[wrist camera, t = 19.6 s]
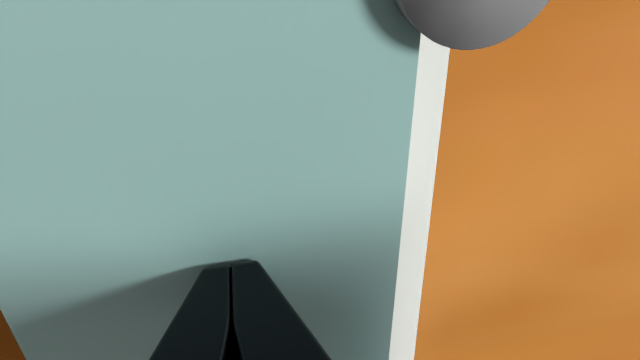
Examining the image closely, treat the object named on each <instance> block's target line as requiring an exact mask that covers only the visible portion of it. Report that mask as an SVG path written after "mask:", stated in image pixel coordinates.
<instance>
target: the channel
mask: <svg viewBox="0 0 640 360" xmlns="http://www.w3.org/2000/svg"><path fill="white" fill-rule="evenodd" d="M449 51H450V48H448V47H445V46H442V45H440V44H437V43H435V42H433V41H432V40H430V39H429V38H427V37H426V36H424V35H423V34H422V33H421V37H420V47H419V57H418V67H417V77H416V87H415V98H414V108H413V118H412V128H411V138H410V148H409V158H408V169H407V179H406V189H405V199H404V209H403V219H402V229H401V239H400V250H399V260H398V270H397V280H396V290H395V300H394V310H393V321H392V331H391V341H390V351H389V360H414V352H415V344H416V335H417V326H418V318H419V309H420V301H421V292H422V283H423V275H424V266H425V258H426V249H427V240H428V232H429V223H430V215H431V206H432V197H433V189H434V180H435V172H436V163H437V154H438V146H439V137H440V129H441V120H442V111H443V103H444V94H445V86H446V77H447V69H448V60H449Z"/></svg>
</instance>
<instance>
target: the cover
mask: <svg viewBox="0 0 640 360" xmlns="http://www.w3.org/2000/svg"><path fill="white" fill-rule="evenodd" d="M548 1H549V0H0V310H1V312H2V314H3V316H4V318H5V320H6V322H7V323H8V325H9V327H10V329H11V331H12V333H13V335H14V337H15V339H16V341H17V343H18V345H19V347H20V349H21V351H22V353H23V355H24V357H25V358H26V360H149V359H150V357H151V355H152V353H153V352H154V350H155V348H156V347H157V345H158V343H159V342H160V340H161V338H162V337H163V335H164V333H165V331H166V330H167V328H168V326H169V325H170V323H171V321H172V320H173V318H174V316H175V314H176V313H177V311H178V309H179V308H180V306H181V304H182V303H183V301H184V299H185V298H186V296H187V294H188V292H189V291H190V289H191V287H192V286H193V284H194V282H195V281H196V279H197V277H198V275H199V274H200V272H201V271H202V269H204V268H206V267H211V266H218V265H225V264H227V265H229V266H230V267H232V265H233V264H234V263H238V262H245V261H252V260H256V261H258V262H259V263H260V264H261V265H262V266H263V268H264V269H265V270H266V272H267V273H268V275H269V276H270V277H271V279H272V280H273V281H274V283H275V284H276V285H277V287H278V288H279V289H280V291H281V292H282V293H283V295H284V296H285V297H286V299H287V300H288V301H289V303H290V304H291V305H292V307H293V308H294V309H295V311H296V312H297V313H298V315H299V316H300V318H301V319H302V320H303V322H304V323H305V324H306V326H307V327H308V328H309V330H310V331H311V332H312V334H313V335H314V336H315V338H316V339H317V340H318V342H319V343H320V344H321V346H322V347H323V348H324V350H325V351H326V352H327V354H328V355H329V356H330V358H331V359H332V360H389V351H390V341H391V331H392V321H393V310H394V300H395V290H396V280H397V270H398V260H399V250H400V239H401V229H402V219H403V209H404V199H405V189H406V179H407V169H408V158H409V148H410V138H411V128H412V118H413V108H414V98H415V87H416V77H417V67H418V57H419V47H420V37H421V33H422V34H423V35H424V36H426V37H427V38H429V39H430V40H432V41H433V42H435V43H437V44H440V45H442V46H445V47H448V48H451V49H459V50H474V49H481V48H485V47H489V46H492V45H495V44H497V43H500V42H502V41H504V40H506V39H508V38H510V37H511V36H513V35H515V34H516V33H517V32H519V31H520V30H522V29H523V28H524V27H525V26H527V25H528V24H529V23H530V22H531V21H532V20H533V19H534V18H535V17H536V16H537V15H538V14H539V13H540V12H541V11H542V9H543V8H544V7H545V5H546V4H547V3H548Z"/></svg>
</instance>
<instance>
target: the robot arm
mask: <svg viewBox="0 0 640 360" xmlns="http://www.w3.org/2000/svg"><path fill="white" fill-rule="evenodd" d="M149 360H332V359H331V358H330V356H329V355H328V354H327V352H326V351H325V350H324V348H323V347H322V346H321V344H320V343H319V342H318V340H317V339H316V338H315V336H314V335H313V334H312V332H311V331H310V330H309V328H308V327H307V326H306V324H305V323H304V322H303V320H302V319H301V318H300V316H299V315H298V313H297V312H296V311H295V309H294V308H293V307H292V305H291V304H290V303H289V301H288V300H287V299H286V297H285V296H284V295H283V293H282V292H281V291H280V289H279V288H278V287H277V285H276V284H275V283H274V281H273V280H272V279H271V277H270V276H269V275H268V273H267V272H266V270H265V269H264V268H263V266H262V265H261V264H260V263H259V262H258V261H256V260H252V261H245V262H238V263H234V264H233V265H232V267H230V266H229V265H227V264H225V265H218V266H211V267H206V268H204V269H202V271H201V272H200V274H199V275H198V277H197V279H196V281H195V282H194V284H193V286H192V287H191V289H190V291H189V292H188V294H187V296H186V298H185V299H184V301H183V303H182V304H181V306H180V308H179V309H178V311H177V313H176V314H175V316H174V318H173V320H172V321H171V323H170V325H169V326H168V328H167V330H166V331H165V333H164V335H163V337H162V338H161V340H160V342H159V343H158V345H157V347H156V348H155V350H154V352H153V353H152V355H151V357H150V359H149Z"/></svg>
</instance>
